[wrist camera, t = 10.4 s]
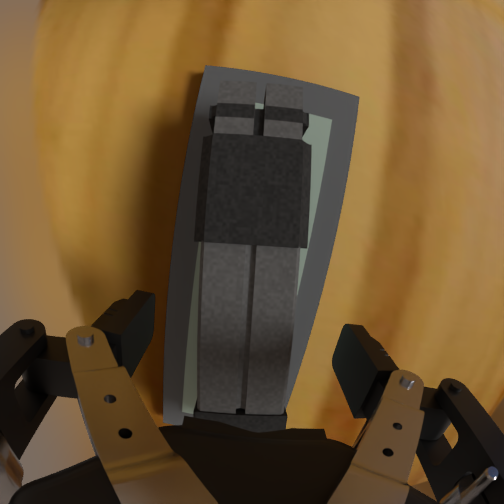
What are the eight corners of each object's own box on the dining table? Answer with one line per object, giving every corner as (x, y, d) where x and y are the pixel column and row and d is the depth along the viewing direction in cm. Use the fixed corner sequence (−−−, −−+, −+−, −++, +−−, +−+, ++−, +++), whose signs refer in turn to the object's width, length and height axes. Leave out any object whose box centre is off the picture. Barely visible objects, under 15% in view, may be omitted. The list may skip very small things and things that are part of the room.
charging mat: (207, 71, 15) (205, 64, 14) (353, 101, 15) (360, 96, 14) (165, 414, 20) (162, 424, 19) (274, 429, 21) (275, 439, 20)
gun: (206, 428, 19) (187, 515, 9) (221, 163, 21) (210, 76, 11) (266, 431, 19) (284, 519, 9) (282, 167, 21) (312, 84, 11)
